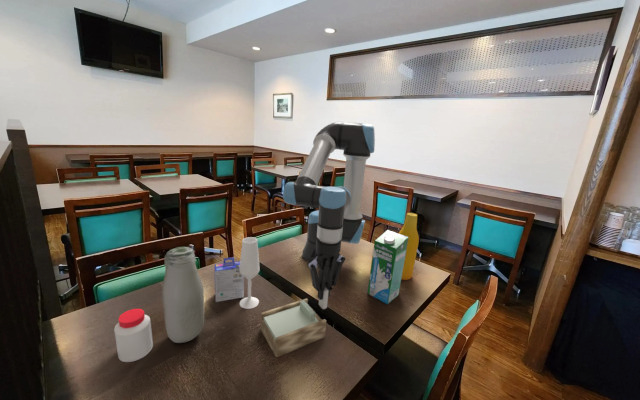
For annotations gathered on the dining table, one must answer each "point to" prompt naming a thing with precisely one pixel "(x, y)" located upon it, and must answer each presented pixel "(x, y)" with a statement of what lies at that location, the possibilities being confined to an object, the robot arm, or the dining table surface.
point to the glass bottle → (182, 295)
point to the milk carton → (387, 266)
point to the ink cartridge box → (228, 281)
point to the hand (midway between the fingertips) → (322, 306)
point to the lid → (290, 319)
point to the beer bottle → (410, 244)
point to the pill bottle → (133, 335)
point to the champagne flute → (249, 268)
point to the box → (293, 338)
